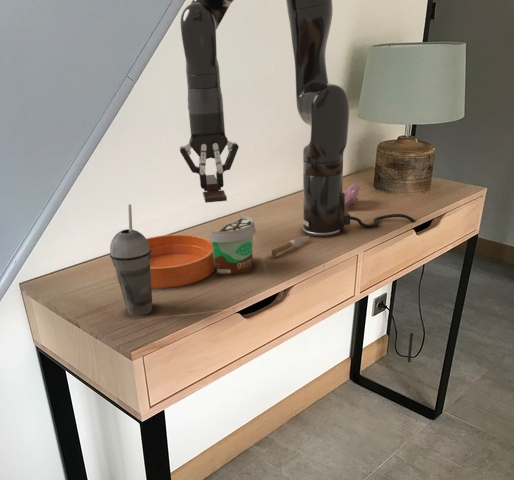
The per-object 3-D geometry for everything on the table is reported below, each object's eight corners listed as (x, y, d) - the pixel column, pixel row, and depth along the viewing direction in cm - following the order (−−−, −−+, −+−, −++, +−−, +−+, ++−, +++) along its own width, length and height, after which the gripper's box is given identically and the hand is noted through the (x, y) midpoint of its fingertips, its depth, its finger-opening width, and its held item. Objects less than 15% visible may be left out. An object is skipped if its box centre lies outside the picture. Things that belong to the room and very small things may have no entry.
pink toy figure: (349, 217, 155) (362, 194, 152) (334, 209, 155) (346, 186, 152) (351, 206, 164) (363, 184, 160) (337, 199, 164) (349, 176, 160)
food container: (239, 283, 117) (235, 235, 112) (213, 278, 120) (209, 231, 115) (267, 262, 126) (266, 217, 121) (243, 258, 129) (240, 214, 124)
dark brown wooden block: (219, 184, 140) (218, 174, 139) (226, 200, 128) (226, 189, 127) (200, 186, 140) (199, 175, 138) (205, 202, 127) (204, 191, 126)
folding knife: (306, 240, 137) (306, 231, 136) (312, 241, 136) (312, 233, 135) (269, 257, 129) (269, 248, 128) (274, 258, 128) (274, 249, 127)
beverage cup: (122, 304, 111) (104, 200, 101) (161, 301, 111) (145, 197, 101) (118, 321, 105) (97, 213, 95) (158, 318, 105) (142, 209, 95)
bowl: (211, 249, 135) (209, 230, 133) (220, 283, 117) (219, 262, 115) (123, 258, 132) (120, 239, 130) (120, 294, 115) (116, 273, 113)
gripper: (174, 114, 121) (183, 196, 130) (240, 109, 123) (244, 191, 131) (173, 109, 128) (181, 188, 136) (235, 105, 129) (240, 183, 138)
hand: (212, 189), depth 134 cm, fingers closed on dark brown wooden block, 2 cm apart
